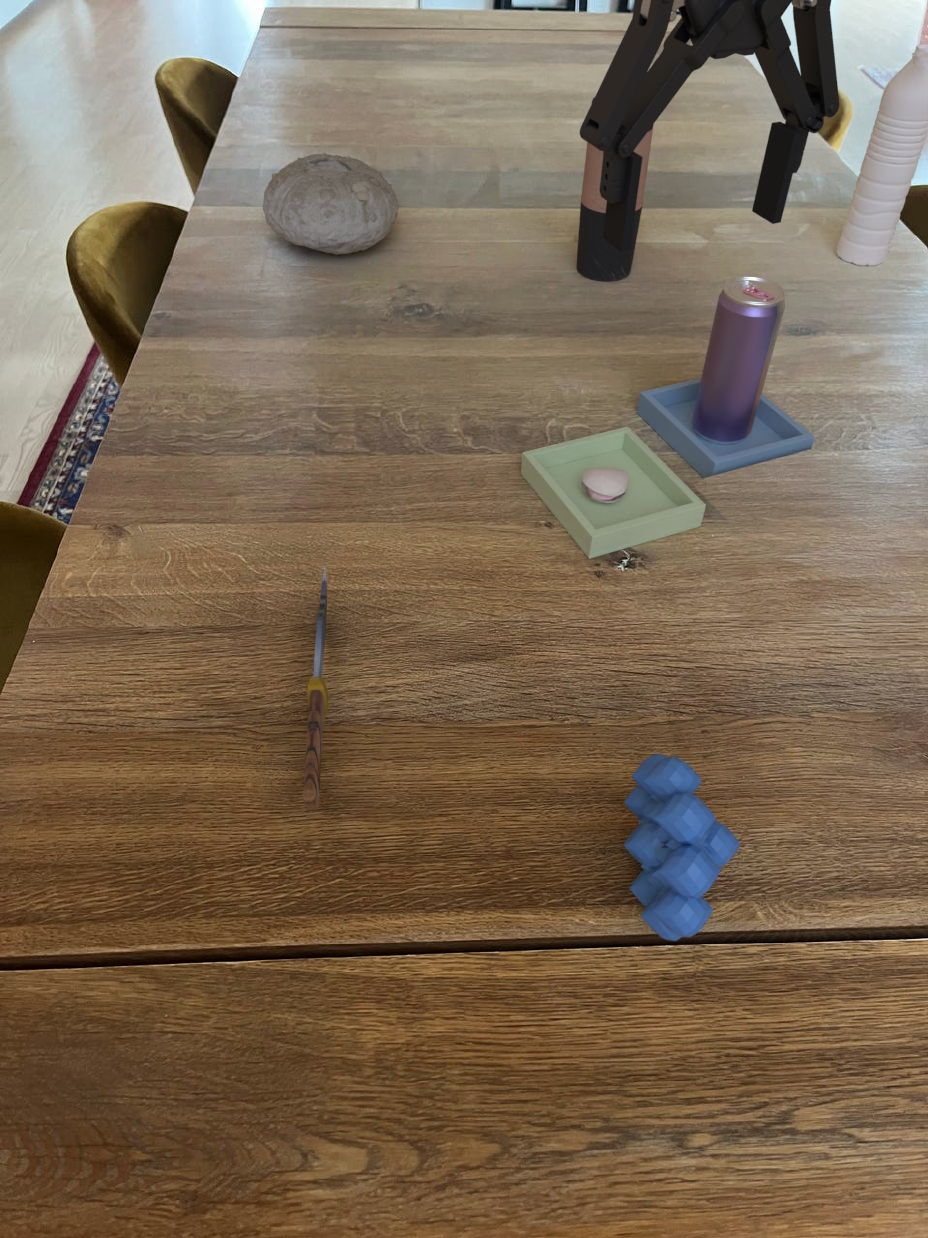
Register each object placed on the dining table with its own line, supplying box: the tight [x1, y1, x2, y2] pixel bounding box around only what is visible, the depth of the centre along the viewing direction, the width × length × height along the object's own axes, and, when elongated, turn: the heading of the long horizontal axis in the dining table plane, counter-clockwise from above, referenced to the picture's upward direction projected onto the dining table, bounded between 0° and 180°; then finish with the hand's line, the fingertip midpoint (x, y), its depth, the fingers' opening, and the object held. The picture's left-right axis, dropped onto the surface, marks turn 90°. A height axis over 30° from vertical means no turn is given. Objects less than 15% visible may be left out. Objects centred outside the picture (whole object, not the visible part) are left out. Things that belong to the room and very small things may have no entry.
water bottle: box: [835, 43, 928, 267], centre depth 117 cm, size 9×6×25 cm
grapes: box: [623, 752, 741, 942], centre depth 55 cm, size 12×7×12 cm, turn 1°
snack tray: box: [520, 426, 707, 560], centre depth 87 cm, size 14×12×2 cm
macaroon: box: [582, 468, 629, 503], centre depth 87 cm, size 4×5×2 cm
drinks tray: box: [636, 377, 815, 479], centre depth 95 cm, size 14×12×2 cm
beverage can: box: [692, 275, 787, 445], centre depth 90 cm, size 6×6×15 cm
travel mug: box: [576, 96, 655, 282], centre depth 116 cm, size 8×8×20 cm
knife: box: [302, 567, 329, 811], centre depth 69 cm, size 25×1×5 cm, turn 4°
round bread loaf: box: [262, 152, 399, 256], centre depth 124 cm, size 18×18×10 cm
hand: (693, 230), depth 72 cm, fingers open, 13 cm apart
